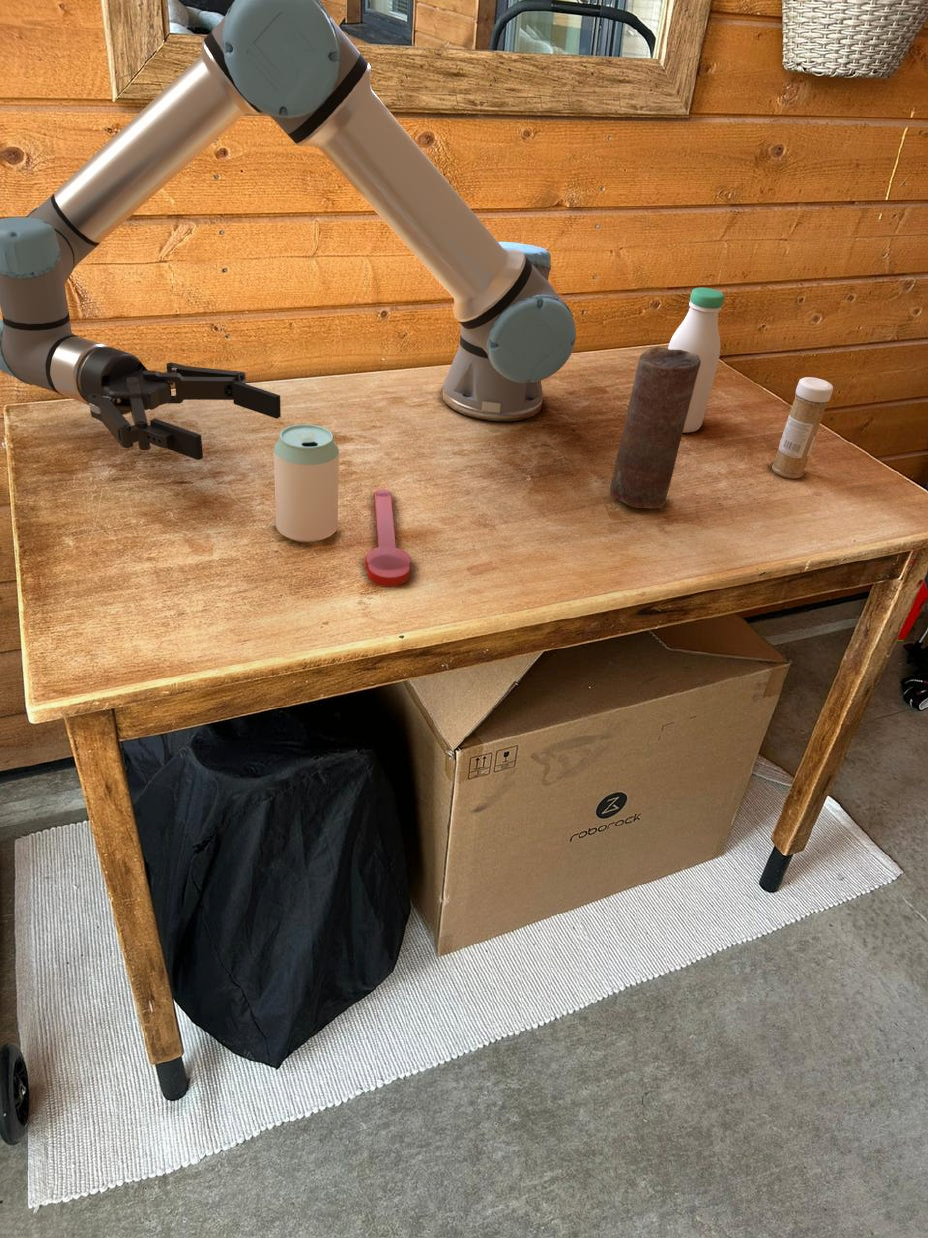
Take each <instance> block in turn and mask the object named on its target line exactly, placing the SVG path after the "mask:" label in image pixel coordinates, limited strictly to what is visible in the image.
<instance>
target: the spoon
mask: <svg viewBox="0 0 928 1238" xmlns="http://www.w3.org/2000/svg"><path fill="white" fill-rule="evenodd" d="M373 500H374V502H373V503H374V514H375V515H374V516H375V531H376V546H377V547H374V548H372V549H370V550H369V551H368V552H367V553H366V555H365V558H364V560H365V561H364V568H365V570H366V572H367V573H366V574H367V578H368V579H369V580H370V581H371V582H372V583H374V584H376V585H379V586H380V587H387V588H388V587H389V588H391V587H393V588H394V587H398V586H402V585H403V584H405V583H406V582H408V580H409V579H410V573H411V567H412V566H411V565H412V558H411V556H410V554H409V553H408V552H407V551H405V550H403V549H401V548H398V547H397V543H396V542H397V541H396V532H395V524H394V521H395V520H394V511H393V510H394V509H393V501H392V500H393V499H392V492H391V490H389V489H385V488H379V489H376V490H374V494H373Z"/></svg>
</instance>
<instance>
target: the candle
mask: <svg viewBox="0 0 928 1238" xmlns="http://www.w3.org/2000/svg"><path fill="white" fill-rule="evenodd" d="M700 363H701V360H700V358H699V356H698V355H697V354H694V353H689V352H687V351H683V350H673V349H672V350H669V349H668V347H665V346H654V347H648V348H647V349H645V350H644V351H643V352H642V353H641V354H640V355H639V358H638V361H637V366H636V371H635V376H634V380H633V384H632V389H631V394H630V399H629V403H628V406H627V412H626V417H625V420H624V425H623V429H622V432H621V433H622V434H621V438H620V443H619V447H618V450H617V455H616V459H615V465H614V469H613V473H612V477H611V482H610V487H609V493H610V496H612V498H613V499H615V500H617V501H620V502H622V503H623V504H626V505H627V506H629V507H632V508H637V509H638V508H640V509H650V510H652V509H656V508H658V509H661V508H662V507H663V506H664V505H665V504H666V502H667V497H668V494H669V490H670V486H671V482H672V478H673V473H674V470H675V465H676V461H677V458H678V453H679V449H680V445H681V443H682V442H681V441H682V437H683V433H684V432H683V429H684V425H685V421H686V417H687V414H688V410H689V405H690V401H691V398H692V394H693V390H694V386H695V382H696V378H697V374H698V370H699V367H700Z"/></svg>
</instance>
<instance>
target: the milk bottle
mask: <svg viewBox="0 0 928 1238" xmlns="http://www.w3.org/2000/svg"><path fill="white" fill-rule="evenodd" d="M724 301H725V294H724V292H722V291H720V290H718V289H715V288H710V287H695V288H693V289H692V291H691V293H690V298H689V303H688V305H689V309H688V312H687V314H686V316H685V318H684V319H683V321H682V322H681V324H680V325H679V326H678V327H677V328H676V330H675V332H674V333H673V334H672V337H671V338H670V341H669V344H668V346H667V349H669V350H672V349H673V350H683V351H687V352H689V353H694V354H697V355H698V356H699V358H700V360H701V363H700V367H699V370H698V374H697V378H696V382H695V386H694V390H693V394H692V398H691V401H690V405H689V410H688V414H687V417H686V421H685V425H684V429H683V433H694V432H696V431H698V430H699V429H700V428H701V427H702V425H703V421H704V418H705V414H706V411H707V407H708V404H709V399H710V396H711V392H712V390H713V389H712V388H713V384H714V381H715V378H716V373H717V369H718V365H719V360H720V357H721V346H722V345H721V336H720V332H719V313H720V312H721V311H722V306H723V304H724Z"/></svg>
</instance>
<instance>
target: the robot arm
mask: <svg viewBox="0 0 928 1238" xmlns="http://www.w3.org/2000/svg"><path fill="white" fill-rule="evenodd" d="M200 52H201V53H200V56H199V57H198V58H196V59H195V60H194V61H193V62H192V63H191V64H190V65H189V66H187V68H186V69H184V71H183V72H182V73H180V74H179V75H178V76H177V77H176V78H175V79H174V80H173V81H172V82H171V83H169V84H168V86H166V87H165V88H164V89H163V90H162V91H161V92H160V93H159V94H158V95H157V96H155V98H154V99H153V100H151V101H150V102H149V103H148V104H147V105H146V106H145V107H143V108H142V110H141V111H139V113H138V114H136V115H135V116H134V117H133V118H132V119H131V120H130V121H129V122H128V123H126V125H125V126H123V128H121V129H120V130H119V131H118V132H117V133H116V134H115V135H114V136H113V137H112V138H111V139H110V140H109V141H108V142H107V143H105V144H104V146H102V147H101V148H100V149H99V150H98V151H97V152H96V153H94V155H92V157H91V158H89V159H88V161H86V162H85V163H84V164H83V165H82V166H81V167H80V168H78V170H77V171H76V172H75V173H73V174H72V175H71V176H70V177H69V178H68V179H67V180H65V182H64V183H63V184H61V186H59V187H58V188H57V189H56V190H55V191H54V193H53V194H52V195H50V196H49V197H48V198H47V199H46V200H44V201H43V203H42V204H40V205H39V206H36V207H35V208H34V209H32V210H31V211H30V212H29V213H28V214H27V215H26V216H16V217H4V218H1V219H0V312H1V317H2V319H1V320H0V371H1V372H3V373H5V374H7V375H8V376H11V377H13V378H15V379H17V380H18V381H19V382H21V383H24V384H27V385H30V386H36V387H38V388H42V389H44V390H47V391H50V392H53V393H56V394H58V395H60V396H63V397H67V398H69V399H71V400H74V401H77V402H79V403H82V404H85V405H87V406H89V410H90V417H91V418H93V419H96V420H98V421H99V422H101V423H102V424H103V425H104V427H105V428H106V429H107V430H108V431H109V433H110V434H111V435H112V436H113V437H114V439H115V440H116V441H117V442H118V444H119V445H120V446H121V447H122V448H123V449H131V448H133V447H134V443H138V450H140V451H150V450H151V445H153V446H156V447H159V448H160V449H166V450H169V451H172V452H174V453H178V454H181V455H183V456H186V457H188V458H191V459H194V460H197V461H200V460H202V459H204V453H203V451H204V450H203V441H202V435H201V434H199V433H197V432H194V431H191V430H188V429H186V428H183V427H181V426H178V425H175V424H172V423H169V422H166V421H164V420H161V419H159V418H152V419H150V420H149V422H148V419H147V413H146V411H148V410H149V411H153V410H155V409H157V408H159V406H162V405H167V404H168V405H169V404H170V405H171V404H172V405H173V404H174V405H175V404H176V405H177V404H183V402H184V401H232V403H233V405H235V406H238V407H242V408H244V409H247V410H249V411H250V410H251V411H253V412H255V413H259V414H260V415H261V414H262V415H264V416H268V417H270V418H272V419H279V418H281V416H282V415H281V414H282V411H281V410H282V409H281V408H282V407H281V395H280V394H277V393H274V392H271V391H268V390H265V389H262V388H259V387H256V386H253V385H250V384H248V383H247V375H246V372H244V371H238V370H231V369H230V370H228V369H220V368H210V367H201V366H192V365H191V366H190V365H184V364H181V363H176V362H167V363H166V365H165V366H166V367H165V368H166V370H165V371H163V372H161V371H157V370H150V369H149V370H148V369H147V367H146V366H145V365H144V363H143V362H142V361H141V360H140V359H139V358H138V357H137V356H135V354H132V353H129V352H127V351H124V350H121V349H118V348H115V347H112V346H109V345H107V344H104V343H101V342H98V341H95V340H91V339H88V338H85V337H82V336H79V335H77V334H74V333H73V332H72V327H71V317H70V311H69V305H68V304H69V303H68V299H67V291H66V284H67V282H68V280H69V279H70V277H71V275H72V273H73V272H74V270H75V268H76V267H77V266H78V265H79V264H80V263H81V262H82V261H83V260H84V259H85V258H87V256H89V255H90V254H91V253H92V252H93V251H94V250H95V249H96V248H98V246H99V245H100V244H101V243H102V242H103V241H104V240H106V239H107V238H108V237H110V235H111V234H112V233H113V232H114V231H116V230H117V229H118V228H119V227H120V226H121V225H123V224H124V223H125V222H126V221H127V220H128V219H129V218H130V217H131V216H132V215H133V214H135V213H136V212H137V211H138V210H139V209H141V207H143V206H144V205H145V204H146V203H147V202H148V201H150V199H152V198H153V197H154V196H155V195H156V194H157V193H158V192H160V191H161V190H162V189H163V188H164V187H165V186H166V185H167V184H169V183H170V182H171V181H172V180H173V179H174V178H175V177H176V176H178V175H179V174H180V173H181V172H182V171H183V170H185V168H187V167H188V166H189V165H190V164H191V163H192V162H193V161H194V160H196V158H198V157H199V156H200V155H202V153H204V151H206V150H207V149H208V148H209V147H210V146H211V145H212V144H213V143H215V142H216V141H217V140H218V139H219V138H220V137H221V136H222V135H223V134H225V133H226V132H227V131H228V130H229V129H231V128H232V127H233V126H234V125H235V124H236V123H237V122H238V121H239V120H240V119H242V118H244V116H245V115H248V114H249V115H255V116H258V115H260V114H262V113H265V114H267V115H268V116H270V118H271V119H272V120H273V121H274V122H275V123H276V125H278V126H279V127H280V128H281V130H283V132H284V133H285V134H286V135H287V136H288V138H289V139H291V141H293V143H294V144H295V145H296V146H297V147H313V148H315V149H316V148H317V149H318V150H319V151H320V152H321V153H322V154H323V155H324V156H325V158H326V159H327V160H328V161H329V162H330V163H331V164H332V166H334V168H335V169H336V170H337V171H338V172H339V173H340V174H341V175H342V176H343V177H344V179H345V180H346V181H347V182H348V183H349V184H350V185H351V186H352V188H354V190H355V191H356V192H357V193H358V194H359V195H360V196H361V197H362V199H363V200H364V201H365V202H366V203H367V204H368V205H369V206H370V208H371V209H372V210H373V211H374V212H375V214H377V215H378V216H379V218H380V219H381V220H382V221H383V222H384V223H385V224H386V225H387V227H389V228H390V229H391V231H392V232H393V233H394V234H395V235H396V236H397V237H398V238H399V240H400V241H401V242H402V243H403V245H405V246H406V247H407V249H409V251H410V252H411V253H412V254H413V256H415V258H416V259H417V260H418V261H419V262H420V263H421V264H422V265H423V266H424V267H425V269H427V271H428V272H429V273H430V274H431V275H432V276H433V278H435V279H436V280H437V282H438V283H439V284H440V285H441V287H443V288H444V290H445V291H446V292H447V293H449V295H450V296H451V297H452V298H453V317H454V318H455V319H456V321H457V322H458V324H460V335H459V343H458V349H457V351H456V353H455V355H454V358H453V360H452V362H451V365H450V368H449V370H448V372H447V374H446V377H445V379H444V383H443V386H442V400H443V401H444V402H445V404H446V405H447V406H448V407H449V408H450V409H452V410H454V411H455V412H457V413H460V414H462V415H465V416H468V417H471V418H474V419H479V420H484V421H490V422H491V421H492V422H515V421H522V420H526V419H530V418H531V417H534V416H535V415H538V413H539V412H540V411H541V409H542V405H543V398H544V393H543V392H544V391H543V386H542V381H543V380H546V379H548V378H550V377H552V376H554V374H556V373H557V372H558V371H560V370H561V369H562V367H564V365H565V364H566V363H567V361H568V360H569V358H570V357H571V355H572V353H573V351H574V347H575V344H576V340H577V327H576V323H575V319H574V315H573V312H572V310H571V308H570V307H569V306H568V305H567V303H566V302H564V301H563V300H562V298H561V297H560V295H559V294H558V293H557V292H556V290H555V288H554V287H553V286H552V284H551V283H550V282H549V277H550V271H552V264H551V262H552V255H551V253H550V251H548V250H547V249H546V248H543V247H542V246H541V247H540V246H537V245H532V244H527V243H521V242H520V243H519V242H512V241H511V242H509V241H498V240H497V239H496V238H495V237H494V235H493V234H492V233H491V232H490V230H489V229H487V227H486V225H484V223H483V222H482V221H481V220H480V218H479V217H478V216H477V214H475V213H474V211H473V210H472V209H471V208H470V206H469V205H468V204H467V202H465V200H464V199H463V198H462V197H461V196H460V194H459V193H458V192H457V190H455V188H454V187H453V186H452V185H451V184H450V182H449V181H448V180H447V178H446V177H445V176H444V175H443V174H442V173H441V172H440V170H439V169H438V168H437V167H436V165H435V164H434V163H433V162H432V160H431V159H430V158H429V157H428V156H427V155H426V153H425V152H424V151H423V150H422V149H421V148H420V146H419V145H418V144H417V142H416V141H415V140H414V139H413V138H412V137H411V135H410V134H409V133H408V132H407V130H406V129H405V128H404V127H403V126H402V124H401V123H400V121H398V119H397V118H396V117H395V116H394V115H393V113H392V112H391V111H390V110H389V108H388V107H387V106H386V105H385V103H383V102H382V100H381V99H380V98H379V97H378V95H376V93H375V92H374V91H373V89H372V86H371V65H370V63H369V62H368V61H367V60H366V59H365V57H364V56H363V55H362V53H361V52H360V51H359V49H357V47H356V46H355V44H353V42H352V41H351V39H350V38H348V36H347V35H346V34H345V32H344V31H343V30H342V29H341V28H340V26H339V25H338V24H337V23H336V21H334V19H333V18H332V16H331V15H330V14H329V13H328V11H327V9H326V8H325V6H324V4H323V3H322V1H321V0H234V1H233V2H232V4H231V5H230V7H229V8H228V9H227V12H226V14H225V16H224V17H223V18H222V19H221V21H220V22H219V23H218V24H217V25H216V26H215V27H214V28H213V29H212V30H211V31H210V33H207V35H206V36H205V37H204V38H203V39H202V40H201V51H200ZM172 387H173V388H174V389H175V395H173V394H172ZM127 414H131V418H132V419H131V420H132V421H133V425H131V423H130V422H129V421H128V419H127V418H126V417H125V415H127ZM148 423H149V424H148Z"/></svg>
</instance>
